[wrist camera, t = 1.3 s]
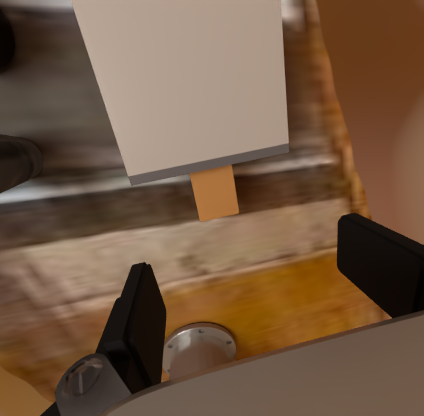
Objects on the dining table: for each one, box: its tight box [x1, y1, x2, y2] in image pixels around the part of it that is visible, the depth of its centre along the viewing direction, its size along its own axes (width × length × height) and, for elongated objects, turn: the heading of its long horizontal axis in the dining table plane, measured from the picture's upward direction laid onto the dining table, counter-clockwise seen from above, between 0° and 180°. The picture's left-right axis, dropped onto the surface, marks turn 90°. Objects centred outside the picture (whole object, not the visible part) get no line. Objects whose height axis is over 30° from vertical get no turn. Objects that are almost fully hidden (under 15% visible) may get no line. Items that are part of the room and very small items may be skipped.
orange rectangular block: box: [190, 165, 239, 222], centre depth 22 cm, size 4×12×6 cm, turn 11°
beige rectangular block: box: [71, 0, 289, 186], centre depth 20 cm, size 14×13×8 cm
